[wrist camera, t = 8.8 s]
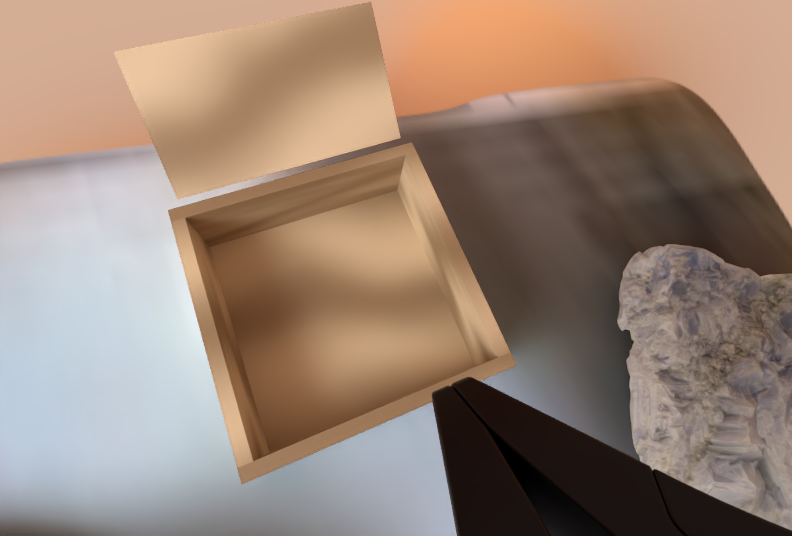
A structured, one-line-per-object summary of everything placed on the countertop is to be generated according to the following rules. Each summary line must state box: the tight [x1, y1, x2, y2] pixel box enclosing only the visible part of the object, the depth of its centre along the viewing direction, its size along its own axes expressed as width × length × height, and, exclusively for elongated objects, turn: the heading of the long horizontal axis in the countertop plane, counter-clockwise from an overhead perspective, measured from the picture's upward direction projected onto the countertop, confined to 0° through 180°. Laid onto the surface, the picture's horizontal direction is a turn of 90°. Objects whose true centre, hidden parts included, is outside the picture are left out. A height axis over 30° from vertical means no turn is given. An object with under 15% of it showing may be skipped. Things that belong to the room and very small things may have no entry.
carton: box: [168, 142, 516, 484], centre depth 20 cm, size 12×12×4 cm
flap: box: [114, 2, 401, 199], centre depth 19 cm, size 6×11×1 cm
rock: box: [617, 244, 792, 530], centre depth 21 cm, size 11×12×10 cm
